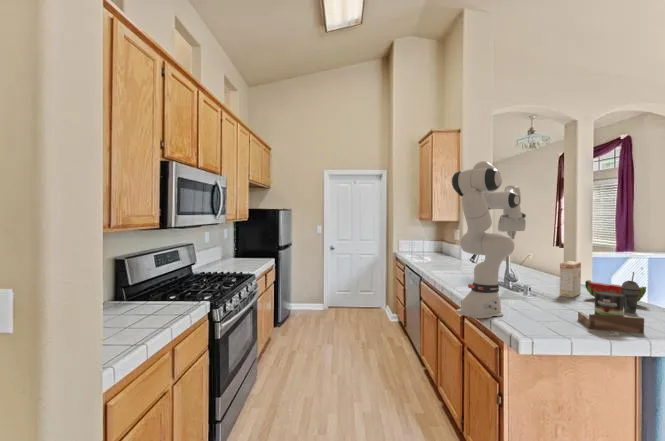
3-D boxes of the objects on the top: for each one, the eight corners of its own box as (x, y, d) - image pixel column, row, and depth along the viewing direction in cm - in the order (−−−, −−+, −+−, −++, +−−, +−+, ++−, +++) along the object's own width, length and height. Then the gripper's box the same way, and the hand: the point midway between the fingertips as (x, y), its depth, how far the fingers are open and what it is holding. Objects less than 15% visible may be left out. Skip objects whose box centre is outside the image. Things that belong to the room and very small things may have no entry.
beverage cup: (619, 309, 186) (620, 270, 186) (637, 311, 183) (638, 271, 182) (621, 312, 180) (622, 272, 180) (640, 314, 176) (641, 273, 176)
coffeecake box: (567, 292, 226) (568, 260, 226) (581, 294, 221) (581, 262, 220) (558, 295, 217) (559, 262, 216) (572, 297, 211) (573, 264, 211)
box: (578, 319, 168) (578, 306, 168) (626, 323, 163) (627, 309, 163) (590, 328, 155) (590, 314, 155) (643, 333, 150) (644, 318, 150)
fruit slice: (584, 298, 210) (585, 281, 209) (587, 296, 214) (587, 279, 214) (644, 307, 191) (645, 288, 191) (645, 304, 195) (646, 286, 195)
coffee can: (621, 330, 153) (621, 297, 152) (591, 325, 160) (592, 293, 160) (625, 325, 160) (626, 293, 159) (596, 320, 167) (597, 289, 167)
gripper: (505, 214, 199) (505, 240, 199) (527, 214, 209) (527, 239, 209) (495, 214, 204) (494, 239, 204) (517, 214, 214) (517, 238, 215)
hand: (511, 239), depth 207 cm, fingers closed
